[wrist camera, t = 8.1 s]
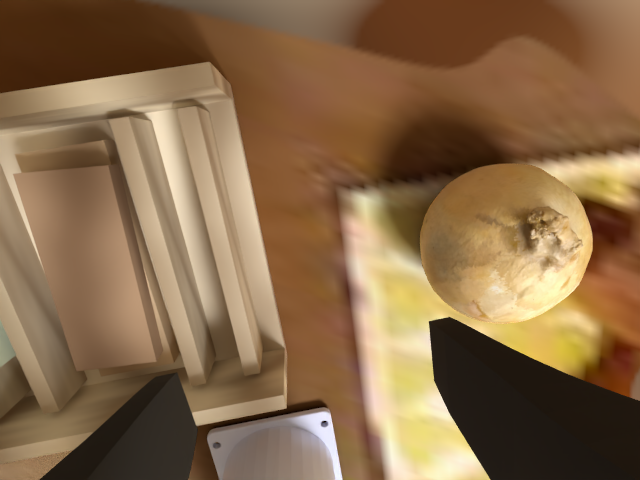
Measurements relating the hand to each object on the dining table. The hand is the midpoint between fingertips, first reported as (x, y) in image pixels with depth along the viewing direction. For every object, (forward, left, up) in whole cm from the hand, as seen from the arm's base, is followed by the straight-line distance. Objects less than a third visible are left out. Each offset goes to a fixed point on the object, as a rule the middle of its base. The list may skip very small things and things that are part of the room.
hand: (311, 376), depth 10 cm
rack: (+2, +10, -10) cm, 14 cm away
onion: (0, -10, -11) cm, 15 cm away
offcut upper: (+2, +10, -9) cm, 13 cm away
